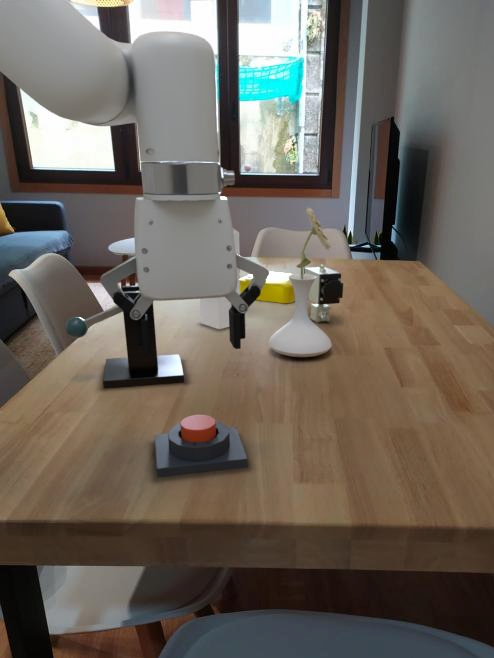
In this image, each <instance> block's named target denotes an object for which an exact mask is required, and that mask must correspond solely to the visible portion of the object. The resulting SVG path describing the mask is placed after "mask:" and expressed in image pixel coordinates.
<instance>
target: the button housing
mask: <svg viewBox="0 0 494 658" xmlns="http://www.w3.org/2000/svg"><path fill="white" fill-rule="evenodd" d="M215 421H216V437H215V438H214V439H211V440H209V441H206V442H196V443H195V442H189V441H185V440H183V439H182V438H181V422H179V423H177V424H175V425H173V427H171V428H170V429H169V431H167V433H162V434H160V433H159V434H154V449H155V450H154V451H155V462H156V463H155V464H156V478H158V479H159V478H168V477H175V476H184V475H195V474H203V473H213V472H219V471H220V472H221V471H229V470H237V469H245V468H246V469H247V468H249V463H248V462H249V459H248V456H247V453H246V449H245V448H244V445H243V441H242V439H241V437H240V434H239V431H238V429H237V426H234V427H232V426H231V427H228V426H227V425H225V424H223V423H222V422H220V421H218V420H215Z"/></svg>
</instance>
